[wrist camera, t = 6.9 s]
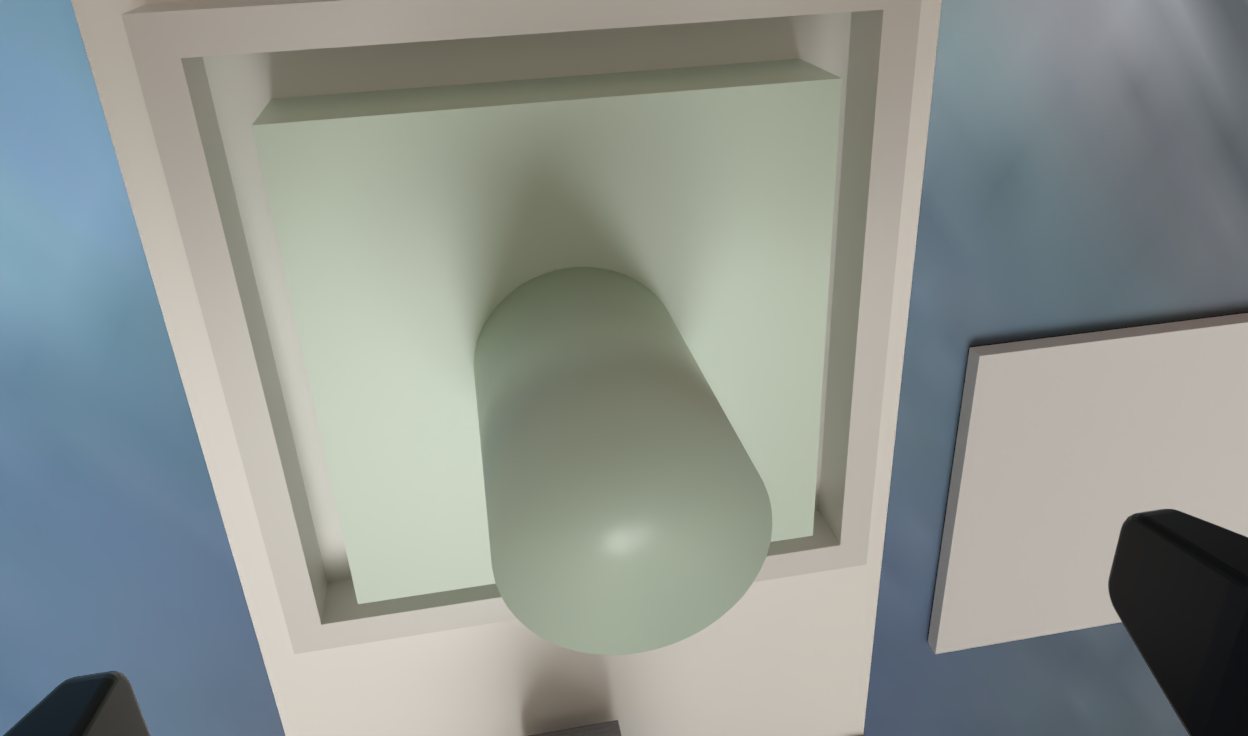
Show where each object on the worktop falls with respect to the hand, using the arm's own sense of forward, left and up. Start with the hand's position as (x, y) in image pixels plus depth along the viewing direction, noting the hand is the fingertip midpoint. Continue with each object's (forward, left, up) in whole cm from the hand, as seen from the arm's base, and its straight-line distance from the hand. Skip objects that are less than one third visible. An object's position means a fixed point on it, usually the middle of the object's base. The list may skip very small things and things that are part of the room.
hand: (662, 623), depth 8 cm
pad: (-7, -12, -10) cm, 17 cm away
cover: (0, 0, -6) cm, 7 cm away
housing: (-5, 0, -10) cm, 11 cm away
